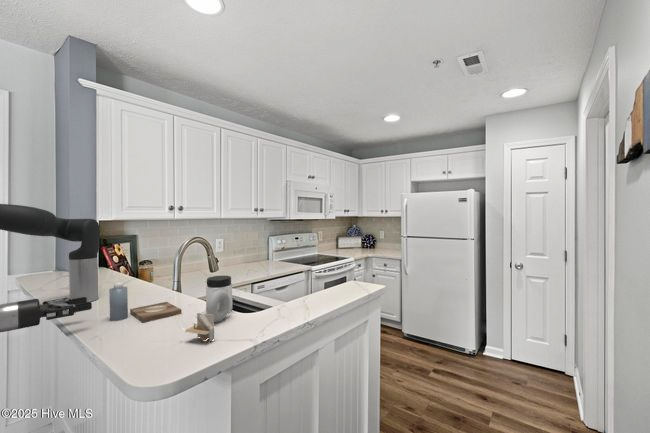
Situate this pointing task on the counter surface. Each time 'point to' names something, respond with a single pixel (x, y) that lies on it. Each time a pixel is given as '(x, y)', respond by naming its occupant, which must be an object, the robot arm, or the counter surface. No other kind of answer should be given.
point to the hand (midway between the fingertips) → (88, 302)
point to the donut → (213, 302)
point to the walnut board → (155, 311)
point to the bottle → (118, 302)
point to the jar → (219, 287)
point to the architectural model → (203, 326)
